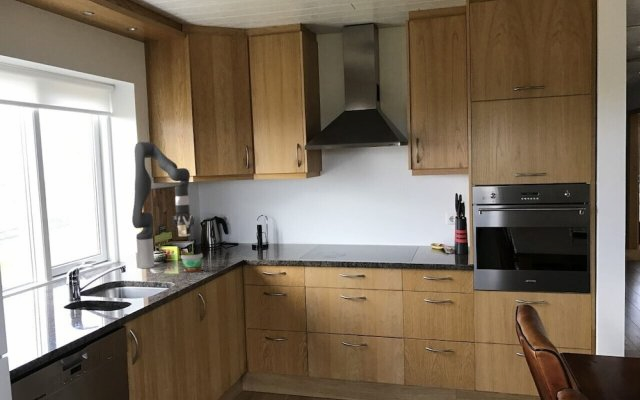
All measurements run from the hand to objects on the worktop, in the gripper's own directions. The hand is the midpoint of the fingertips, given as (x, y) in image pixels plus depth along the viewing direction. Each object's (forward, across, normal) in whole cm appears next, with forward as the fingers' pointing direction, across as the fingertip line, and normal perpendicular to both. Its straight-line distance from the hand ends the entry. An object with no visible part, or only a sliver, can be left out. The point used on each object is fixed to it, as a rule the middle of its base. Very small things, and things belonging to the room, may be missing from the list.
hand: (184, 234), depth 295 cm
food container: (+22, +2, +2) cm, 22 cm away
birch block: (+1, 0, 0) cm, 1 cm away
